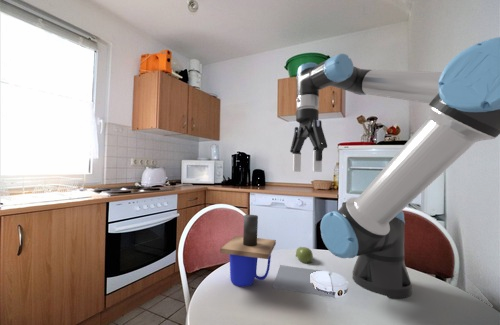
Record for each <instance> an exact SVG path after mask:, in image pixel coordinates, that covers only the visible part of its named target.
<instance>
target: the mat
mask: <svg viewBox="0 0 500 325" xmlns="http://www.w3.org/2000/svg"><path fill="white" fill-rule="evenodd" d="M316 271H321V270H320V269H319V270H318V269H311V268H305V267H304V268H303V267H297V266H289V265H285V264H284V265H282V264H280V265H279V268H278V271H277V273H276V277H275V279H274V282H273V286H272V288H274V289H278V290H279V289H280V290H284V291H285V290H286V291H291V292H297V293H303V294H309V295H317V296H322V297H326V298H327V297H328V298H334V299H335V294H334V295H331V294H327V293H323V292H321V291H318V290H316V289H315V288H314V287H313V286H312V285H311V283H310V274H311V273H313V272H316Z"/></svg>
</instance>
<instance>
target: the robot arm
mask: <svg viewBox="0 0 500 325" xmlns="http://www.w3.org/2000/svg"><path fill="white" fill-rule="evenodd" d="M328 87H333V88H337V89H340V90H343V91H347V92H350V93H353V94H355V95H360V96H365V95H368V96H376V97H383V98H390V99H396V100H397V99H398V100H403V101H410V102H418V103H423V104H424V103H425V104H428V105H427V108H428V117H427V119H426V120H425V121H424V122H423V123H422V124H421V126H420V127H419V128H418V129H417V130H416V131H415V132H414V133H413V135H411V137H409V139H408V140H407V141H406V143H404V145H402V147H401V148H400V149H399V150H398V152H397V153H396V154H395V155H394V156H393V157H392V159H390V161H389V162H388V163H387V164H386V165H385V166H384V168H383V169H381V171H380V172H379V173H378V174H377V175H376V176H375V178H374V179H373V180H372V181H371V183H369V184H368V186H366V188H365V189H364V190H363V191H362V193H360V195H359V196H358V197H349V198H348V199H347V200H346V201H345V202H344V204H342V206H341V207H340V208H339V209H338V210H335V211H334V210H333V211H330V212H328V213H327V212H326V214H324V215H323V217H322V218H321V221H320V226H319V228H320V235H321V236H320V237H321V239H322V241H323V244H324V245H325V247H326V248H327V249H328V251H329V252H330V253H331V254H332V255H333V256H335V257H337V258H340V259H354V258H356V257H357V258H356V262H355V264H354V266H353V269H352V280H353V281H354V283H355V284H356V285H358V286H359V287H361V288H362V289H365V290H367V291H369V292H371V293H375V294H378V295H381V296H386V297H388V298H393V299H396V298H397V299H401V298H408V297H411V295H413V294H412V293H413V291H412V290H413V284H412V281H411V277H410V275H409V272H408V269H407V266H406V264H405V227H406V226H405V225H406V221H405V213H404V211H403V210H404V209H405V208H406V207H407V206H408V205H409V204H411V202H413V201H414V199H416V198H418V196H419V195H420V194H421V193H422V192H423V191H425V190H426V189H427V188H428V187H429V186H430V185H431V184H432V183H433V182H435V181H436V179H437V178H439V177H440V176H441V175H442V174H443V173H444V172H446V170H448V168H449V167H450V166H452V165H453V164H454V163H455V162H456V161H457V160H459V158H461V156H462V155H464V154H465V153H466V152H467V151H468V150H469V149H470V148H471V147H472V146H473V145H474V144H475V143H478V142H481V141H487V140H495V139H496V138H497V137H499V135H500V36H498V37H493V38H489V39H487V40H484V41H480V42H478V43H475V44H473V45H471V46H469V47H467V48H466V49H464V50H462V51H461V52H459V53H458V54H456V55H455V56H454V57H453V58H452V59H451V60H450V61H449V62H448V63H447V64H446V66H445V67H444V68H443V70H442V71H419V70H418V71H417V70H397V69H395V70H393V69H391V70H390V69H389V70H388V69H364V68H359V67H358V66H354V64H353V61H352V59H351V58H350V57H349V54H345V53H339V54H336V55H333V56H331V57H329V58H328V59H326V60H324V61H322V62H320V63H319V64H317V63H315V62H306V63H302V64H301V65H299V67H297V72H296V100H295V102H296V112H295V121H296V122H297V123H299V126H296V127H294V133H293V138H292V142H291V145H290V150H289V152H290V153H292V154H293V155H292V158H293V159H292V160H293V162H292V172H300V173H301V172H302V171H301V166H302V161H301V160H302V153H301V151H302V148H303V145H304V143H305V141H306V140H307V138H309V141H310V143H311V144H312V148H313V149H312V172H313V173H315V172H318V173H322V170H323V166H322V165H323V164H322V162H323V151H324V150H325V149H328V143H327V140H326V137H325V134H324V130H323V127H322V126H323V125H322V120H319V114H320V113H319V112H320V111H319V108H320V90H323V89H325V88H328Z"/></svg>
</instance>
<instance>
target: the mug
mask: <svg viewBox="0 0 500 325" xmlns="http://www.w3.org/2000/svg"><path fill="white" fill-rule="evenodd" d="M271 258H272V254H271V255H270V257H269V259H267V267H266V270H265V273H264V275H262V276H260V275H257V268H258V267H257V266H258V259H259V258H255V257H247V256H239V255H232V254H229V273H230V274H229V276H230V282H231V283H232V284H233V285H235V286H236V287H242V288H244V287H249V286H252V284H254V282H255V279H257V280H259V281H263V280H265V279H266V278H267V277H268V274H269V271H270V267H271V266H270V265H271Z"/></svg>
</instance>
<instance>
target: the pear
mask: <svg viewBox="0 0 500 325" xmlns="http://www.w3.org/2000/svg"><path fill="white" fill-rule="evenodd" d="M295 257H297V260H298V261H299V262H301V263H304V264H309V263H312V261H313V258H314V257H313V252H312V250H311V249H310V248H309V247H307V246H306V247H305V246H300V247H298V248H297V249H296V250H295Z"/></svg>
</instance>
